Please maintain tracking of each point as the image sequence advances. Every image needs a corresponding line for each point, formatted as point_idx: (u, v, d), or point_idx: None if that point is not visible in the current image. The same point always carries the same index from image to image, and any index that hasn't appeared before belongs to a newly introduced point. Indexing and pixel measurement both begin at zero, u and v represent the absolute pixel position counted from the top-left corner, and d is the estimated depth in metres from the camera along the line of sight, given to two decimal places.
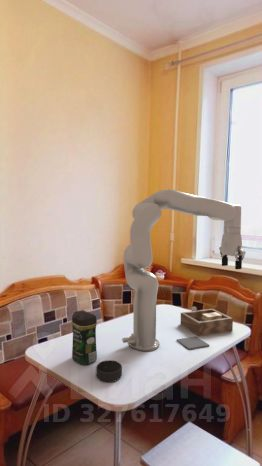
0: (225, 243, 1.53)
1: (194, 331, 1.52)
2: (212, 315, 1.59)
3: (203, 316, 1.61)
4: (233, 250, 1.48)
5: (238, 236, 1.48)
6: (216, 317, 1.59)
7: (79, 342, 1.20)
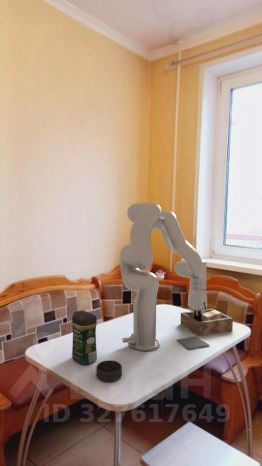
0: (191, 297, 1.57)
1: (194, 331, 1.52)
2: (211, 314, 1.59)
3: (202, 316, 1.60)
4: (198, 306, 1.52)
5: (203, 292, 1.52)
6: (215, 316, 1.58)
7: (79, 342, 1.20)
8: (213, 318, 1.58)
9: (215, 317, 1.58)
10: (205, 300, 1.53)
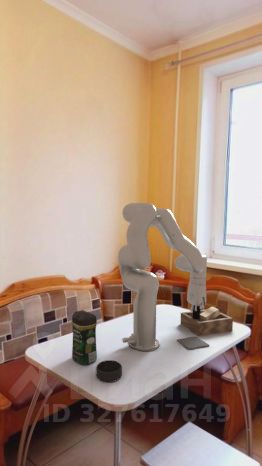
0: (190, 292, 1.56)
1: (194, 331, 1.52)
2: (209, 313, 1.58)
3: (201, 316, 1.60)
4: (197, 301, 1.51)
5: (202, 287, 1.52)
6: (213, 313, 1.58)
7: (79, 342, 1.20)
8: (211, 316, 1.58)
9: (213, 315, 1.58)
10: (204, 295, 1.52)
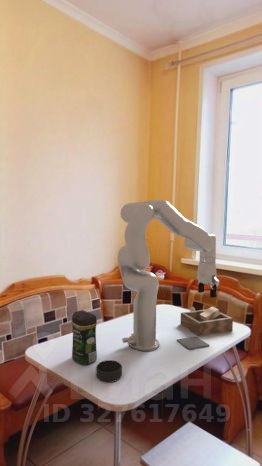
0: (201, 271, 1.58)
1: (194, 331, 1.52)
2: (209, 313, 1.58)
3: (201, 316, 1.60)
4: (208, 279, 1.53)
5: (213, 266, 1.53)
6: (213, 313, 1.58)
7: (79, 342, 1.20)
8: (211, 316, 1.58)
9: (213, 315, 1.58)
10: (215, 274, 1.54)
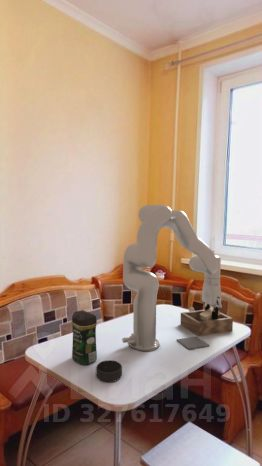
0: (205, 292, 1.60)
1: (194, 331, 1.52)
2: (209, 313, 1.58)
3: (201, 316, 1.60)
4: (212, 300, 1.55)
5: (217, 287, 1.55)
6: None
7: (79, 342, 1.20)
8: (211, 316, 1.58)
9: None
10: (219, 295, 1.55)
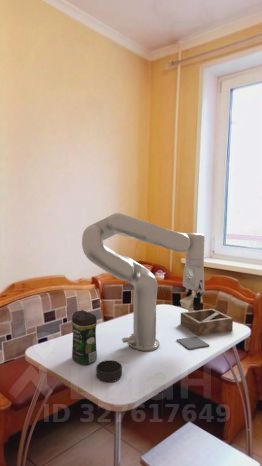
0: (187, 275, 1.39)
1: (194, 331, 1.52)
2: (190, 299, 1.38)
3: (181, 303, 1.39)
4: (194, 284, 1.34)
5: (200, 269, 1.34)
6: None
7: (79, 342, 1.20)
8: None
9: None
10: (202, 278, 1.35)
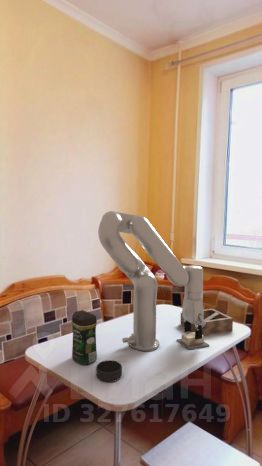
0: (186, 308, 1.39)
1: (194, 331, 1.52)
2: (193, 336, 1.39)
3: (182, 337, 1.40)
4: (193, 318, 1.35)
5: (199, 302, 1.35)
6: None
7: (79, 342, 1.20)
8: (194, 341, 1.38)
9: (197, 340, 1.39)
10: (201, 312, 1.35)
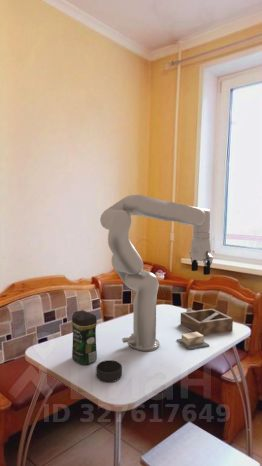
0: (194, 248, 1.51)
1: (194, 331, 1.52)
2: (193, 336, 1.39)
3: (182, 337, 1.40)
4: (201, 255, 1.46)
5: (206, 241, 1.46)
6: (197, 338, 1.39)
7: (79, 342, 1.20)
8: (194, 341, 1.38)
9: (197, 340, 1.39)
10: (209, 250, 1.46)
